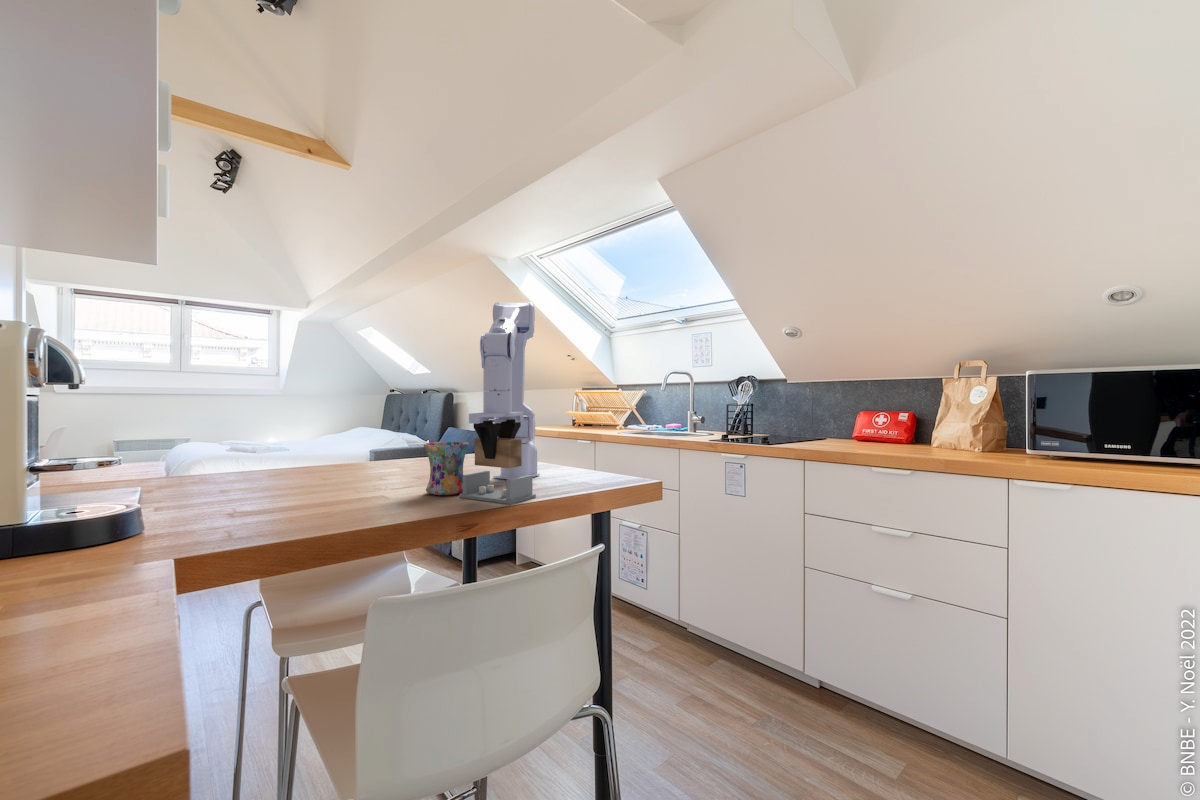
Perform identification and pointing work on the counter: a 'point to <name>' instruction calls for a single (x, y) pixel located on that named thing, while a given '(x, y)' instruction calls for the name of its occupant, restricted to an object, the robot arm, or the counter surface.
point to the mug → (446, 467)
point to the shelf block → (501, 453)
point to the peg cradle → (482, 490)
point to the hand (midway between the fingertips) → (497, 457)
